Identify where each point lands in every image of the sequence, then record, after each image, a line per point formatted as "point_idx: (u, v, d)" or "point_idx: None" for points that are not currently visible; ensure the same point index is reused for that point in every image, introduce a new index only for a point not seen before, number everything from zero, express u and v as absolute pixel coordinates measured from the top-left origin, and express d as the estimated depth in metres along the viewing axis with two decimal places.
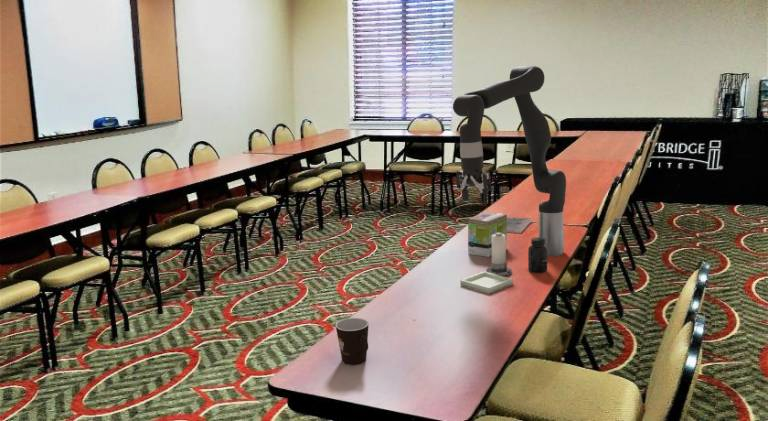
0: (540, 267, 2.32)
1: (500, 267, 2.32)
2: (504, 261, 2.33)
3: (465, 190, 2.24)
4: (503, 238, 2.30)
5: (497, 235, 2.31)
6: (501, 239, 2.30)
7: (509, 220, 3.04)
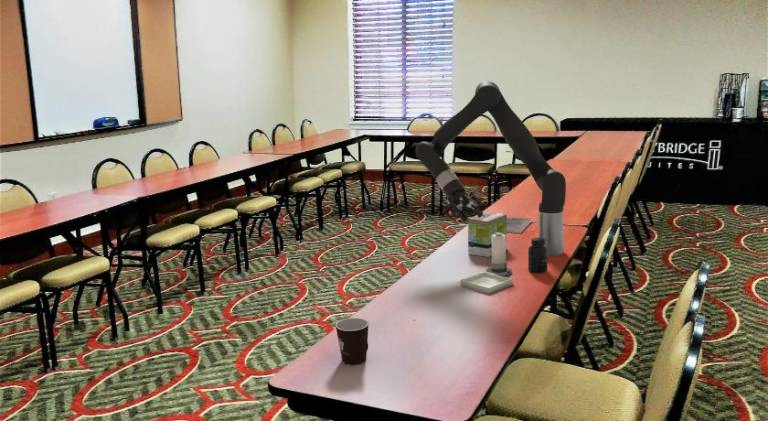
0: (540, 267, 2.32)
1: (500, 267, 2.32)
2: (504, 261, 2.33)
3: (475, 208, 2.44)
4: (503, 238, 2.30)
5: (497, 235, 2.31)
6: (501, 239, 2.30)
7: (509, 220, 3.04)
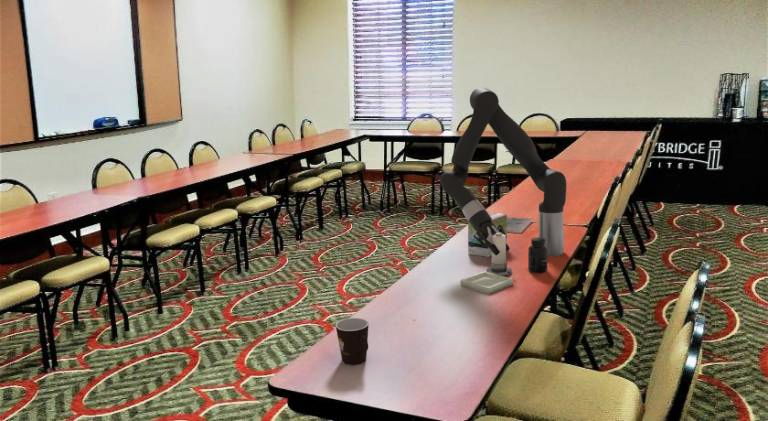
0: (540, 267, 2.32)
1: (500, 267, 2.32)
2: (504, 261, 2.33)
3: None
4: (503, 238, 2.30)
5: (497, 235, 2.31)
6: (501, 239, 2.30)
7: (509, 220, 3.04)
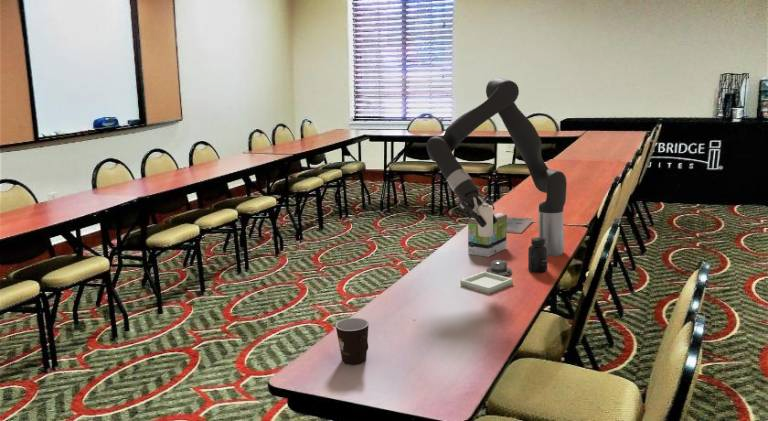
0: (540, 267, 2.32)
1: (500, 267, 2.32)
2: (491, 234, 2.18)
3: None
4: (490, 209, 2.16)
5: (483, 206, 2.16)
6: (488, 210, 2.15)
7: (510, 220, 3.04)
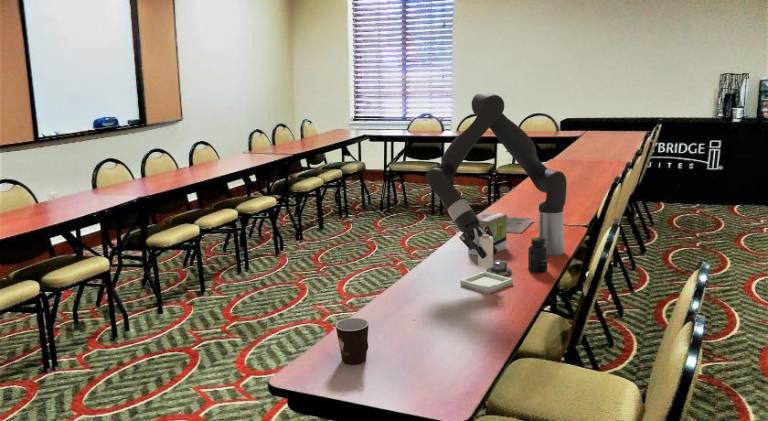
0: (540, 267, 2.32)
1: (500, 267, 2.32)
2: (491, 264, 2.20)
3: None
4: (490, 240, 2.18)
5: (484, 237, 2.19)
6: (488, 241, 2.18)
7: (510, 220, 3.04)
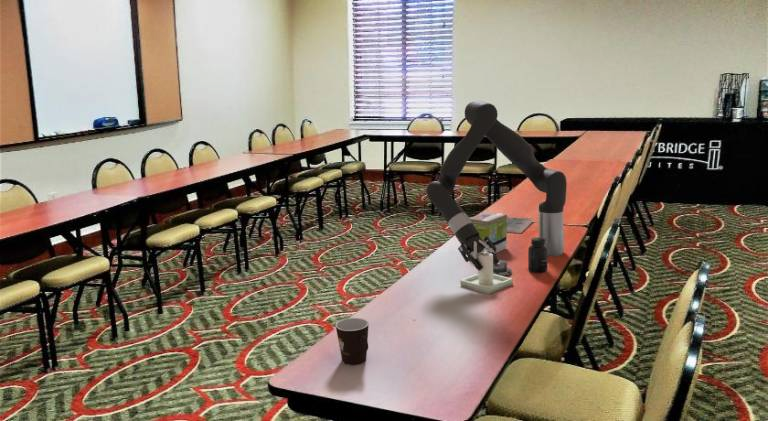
0: (540, 267, 2.32)
1: (500, 267, 2.32)
2: (491, 282, 2.21)
3: None
4: (490, 258, 2.19)
5: (484, 254, 2.20)
6: (488, 259, 2.19)
7: (510, 220, 3.04)
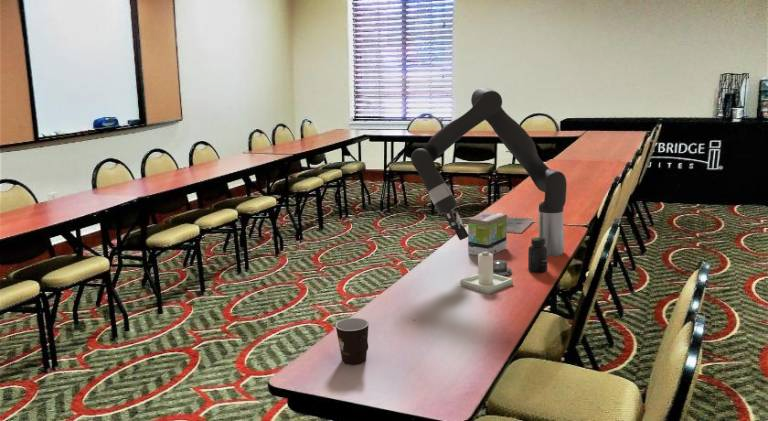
0: (540, 267, 2.32)
1: (500, 267, 2.32)
2: (491, 282, 2.21)
3: (461, 229, 2.36)
4: (490, 258, 2.19)
5: (484, 254, 2.20)
6: (488, 259, 2.19)
7: (510, 220, 3.04)
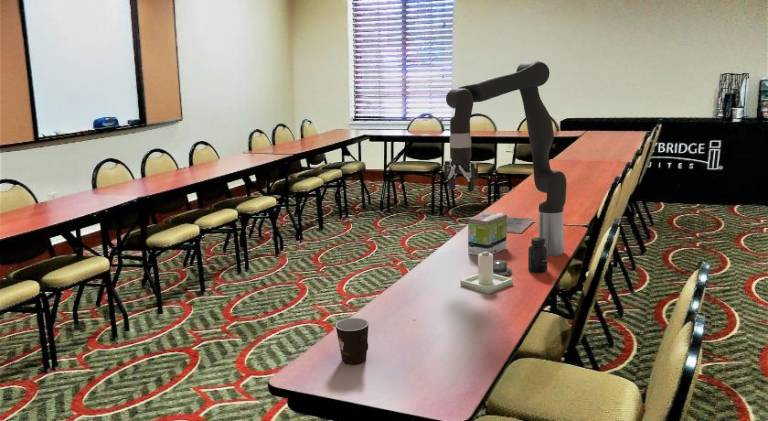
0: (540, 267, 2.32)
1: (500, 267, 2.32)
2: (491, 282, 2.21)
3: (452, 179, 2.36)
4: (490, 258, 2.19)
5: (484, 254, 2.20)
6: (488, 259, 2.19)
7: (511, 220, 3.04)
